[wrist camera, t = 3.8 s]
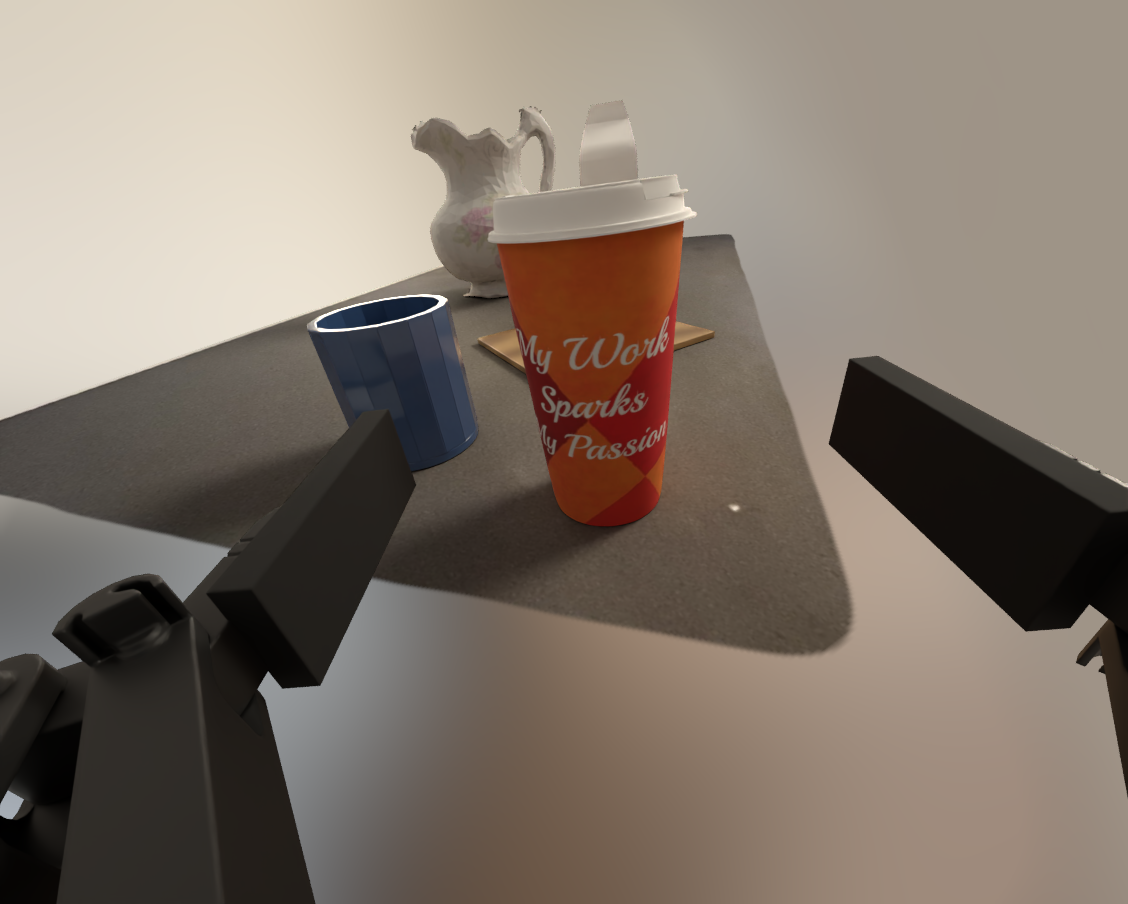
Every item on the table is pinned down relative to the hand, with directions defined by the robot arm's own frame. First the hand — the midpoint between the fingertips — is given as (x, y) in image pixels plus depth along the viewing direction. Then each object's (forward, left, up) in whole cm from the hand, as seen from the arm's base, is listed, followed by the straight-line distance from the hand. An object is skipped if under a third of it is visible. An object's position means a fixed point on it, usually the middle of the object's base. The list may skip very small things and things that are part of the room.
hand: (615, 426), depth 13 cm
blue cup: (+19, +3, -8) cm, 21 cm away
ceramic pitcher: (+64, -23, -8) cm, 69 cm away
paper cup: (+6, -4, -8) cm, 11 cm away
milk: (+74, -52, -8) cm, 91 cm away
